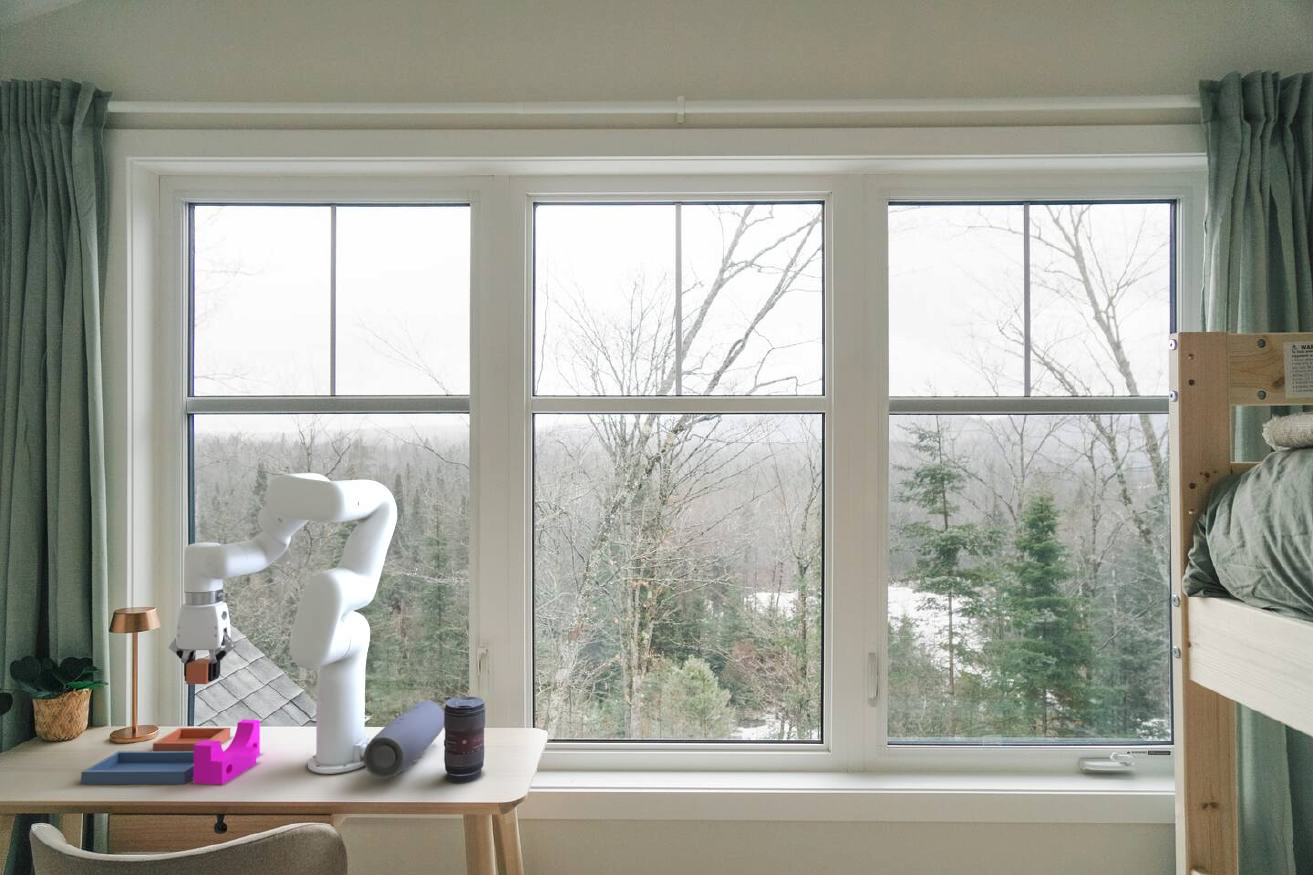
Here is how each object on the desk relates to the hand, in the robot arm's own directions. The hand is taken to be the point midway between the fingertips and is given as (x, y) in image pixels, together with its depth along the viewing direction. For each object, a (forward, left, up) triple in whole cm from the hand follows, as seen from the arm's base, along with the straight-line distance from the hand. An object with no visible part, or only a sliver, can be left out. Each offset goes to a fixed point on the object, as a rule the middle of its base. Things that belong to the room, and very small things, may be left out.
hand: (202, 678), depth 173 cm
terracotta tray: (+2, 0, -15) cm, 15 cm away
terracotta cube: (0, 0, -1) cm, 1 cm away
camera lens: (-63, +17, -15) cm, 67 cm away
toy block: (-14, +13, -15) cm, 24 cm away
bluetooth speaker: (-49, +10, -15) cm, 52 cm away
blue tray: (+2, +15, -15) cm, 21 cm away
